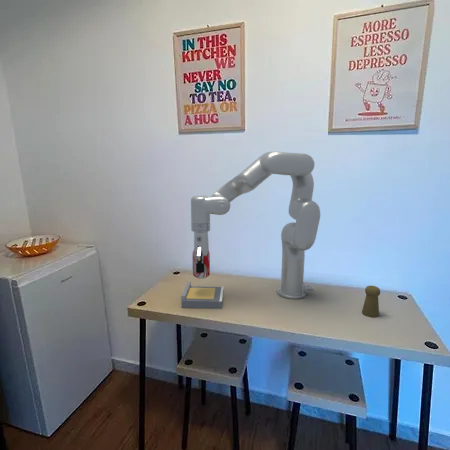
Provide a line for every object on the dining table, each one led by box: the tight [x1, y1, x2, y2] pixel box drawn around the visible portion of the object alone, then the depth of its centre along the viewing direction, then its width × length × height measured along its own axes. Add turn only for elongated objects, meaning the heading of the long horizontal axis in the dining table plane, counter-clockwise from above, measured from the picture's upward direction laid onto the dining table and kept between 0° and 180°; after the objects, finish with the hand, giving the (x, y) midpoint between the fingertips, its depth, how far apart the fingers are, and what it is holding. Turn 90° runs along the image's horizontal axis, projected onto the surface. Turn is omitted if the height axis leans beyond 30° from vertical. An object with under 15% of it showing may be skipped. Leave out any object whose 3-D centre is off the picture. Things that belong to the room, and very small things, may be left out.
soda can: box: [191, 250, 211, 280], centre depth 128 cm, size 7×7×12 cm
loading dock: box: [180, 281, 225, 310], centre depth 131 cm, size 16×15×5 cm
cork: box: [361, 285, 381, 319], centre depth 119 cm, size 6×6×11 cm
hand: (201, 268), depth 129 cm, fingers closed on soda can, 7 cm apart
